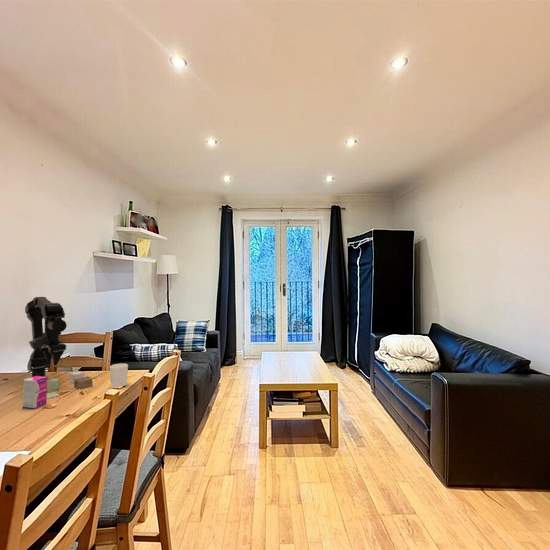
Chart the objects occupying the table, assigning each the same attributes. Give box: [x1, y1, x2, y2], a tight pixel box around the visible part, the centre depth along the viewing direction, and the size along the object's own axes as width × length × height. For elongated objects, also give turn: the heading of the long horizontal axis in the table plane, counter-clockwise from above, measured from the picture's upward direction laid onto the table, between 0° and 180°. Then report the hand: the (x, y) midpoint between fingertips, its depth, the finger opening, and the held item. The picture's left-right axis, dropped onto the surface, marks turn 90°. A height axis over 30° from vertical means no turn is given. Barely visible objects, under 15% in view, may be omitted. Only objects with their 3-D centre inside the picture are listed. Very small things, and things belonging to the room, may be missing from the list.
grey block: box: [69, 371, 85, 384], centre depth 165 cm, size 4×4×4 cm
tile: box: [47, 391, 61, 400], centre depth 145 cm, size 7×7×1 cm
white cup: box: [109, 363, 129, 387], centre depth 158 cm, size 8×8×10 cm
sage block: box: [47, 377, 60, 392], centre depth 154 cm, size 4×4×4 cm
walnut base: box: [73, 376, 93, 391], centre depth 158 cm, size 6×6×4 cm
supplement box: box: [22, 376, 48, 410], centre depth 134 cm, size 6×6×12 cm
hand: (51, 363), depth 154 cm, fingers open, 9 cm apart
